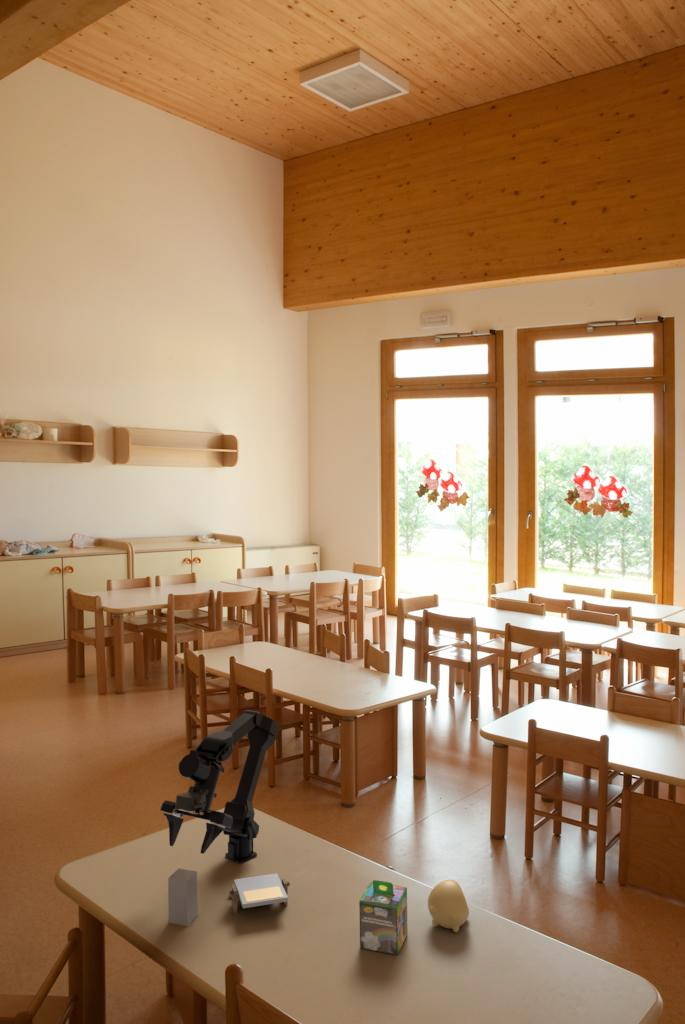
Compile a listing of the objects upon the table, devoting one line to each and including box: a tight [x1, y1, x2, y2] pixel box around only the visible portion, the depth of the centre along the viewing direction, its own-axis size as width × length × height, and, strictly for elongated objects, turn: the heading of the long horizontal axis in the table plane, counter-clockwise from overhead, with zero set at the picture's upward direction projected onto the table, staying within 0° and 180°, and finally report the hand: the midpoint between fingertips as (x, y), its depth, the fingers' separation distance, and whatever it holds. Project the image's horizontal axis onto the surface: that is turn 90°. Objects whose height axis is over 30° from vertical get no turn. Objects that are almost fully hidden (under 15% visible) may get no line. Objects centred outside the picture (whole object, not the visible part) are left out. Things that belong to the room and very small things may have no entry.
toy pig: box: [427, 879, 470, 933], centre depth 199 cm, size 10×12×11 cm
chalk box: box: [358, 879, 408, 956], centre depth 192 cm, size 9×9×15 cm
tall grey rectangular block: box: [167, 867, 198, 927], centre depth 201 cm, size 5×5×11 cm
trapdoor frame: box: [228, 877, 291, 914], centre depth 210 cm, size 8×15×6 cm, turn 107°
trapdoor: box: [233, 872, 289, 909], centre depth 206 cm, size 12×11×4 cm
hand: (186, 849), depth 208 cm, fingers open, 9 cm apart
